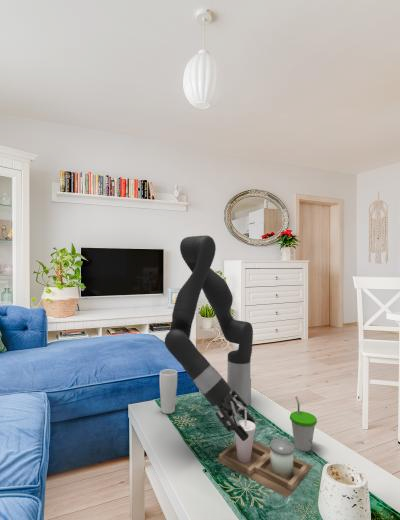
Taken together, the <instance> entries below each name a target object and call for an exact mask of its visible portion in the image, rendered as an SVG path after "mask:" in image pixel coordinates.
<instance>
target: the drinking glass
mask: <svg viewBox="0 0 400 520" xmlns="http://www.w3.org/2000/svg"><path fill="white" fill-rule="evenodd" d="M177 388H178V371H177V370H176V369H171V368H165V369H162V370H160V371H159V393H160V394H159V395H160V411H161V413H162V414H165V415H169V414H173V413H174V412H176V399H177V390H178V389H177Z"/></svg>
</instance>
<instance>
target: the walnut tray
mask: <svg viewBox="0 0 400 520" xmlns="http://www.w3.org/2000/svg"><path fill="white" fill-rule="evenodd" d="M270 454H271V449H270V446H268V445H266V444H264V443H261V442H259V441H256V440H255V439H253V445H252V452H251V460H250V461H249V462H247V463H243V462H240V461H239V460H238V458H237V448H236V441H235V442H234V443H232V444H231V445H230V446H228V447H227V448H225V450H223V451H222V452H220V453H219V454H218V457H217V458H216V459H215V461H216V462H218V463H220V464H222V465H224V466H225V467H228V468H229V469H231V470H233V471H234V472H237V473H239V474H241V475H242V476H245V477H246V478H248V479H250V480H252V481H255V482H256V483H258V484H259V485H260V486H261V485H262V486H263V487H266V488H268V489H269V490H271V491H273V492H274V493H277V494H279V495H280V496H282V497H284V498H286V499H288V498H289V497H290V496H291V495H292V493H293V492H294V491H295V490H296V488H297V487H298V485H299V484H300V483H301V482H302V481H303V480H304V478H305V477H306V476H307V475H308V473H309V472H310V471H311V470H312V468H314V465H312V464H310V463H307V462H304V461H303V460H301V459H298V458H296V457H293V476H292V477H291V478H289V479H284V478H282V477H280V476H277V475H275V474H273V473H271V471H270Z"/></svg>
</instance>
